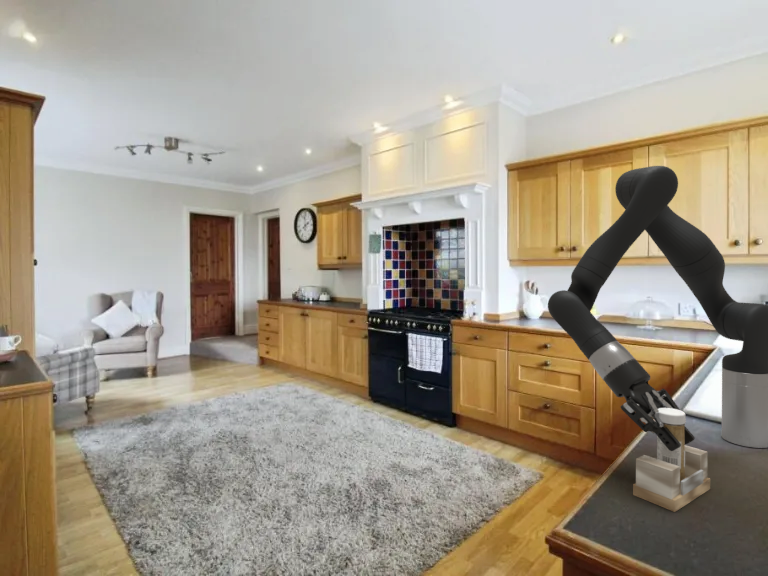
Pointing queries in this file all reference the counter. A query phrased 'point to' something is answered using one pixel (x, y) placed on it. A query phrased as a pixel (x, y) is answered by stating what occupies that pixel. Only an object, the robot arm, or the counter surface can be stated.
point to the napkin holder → (672, 480)
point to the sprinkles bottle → (676, 426)
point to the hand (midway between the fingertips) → (683, 444)
